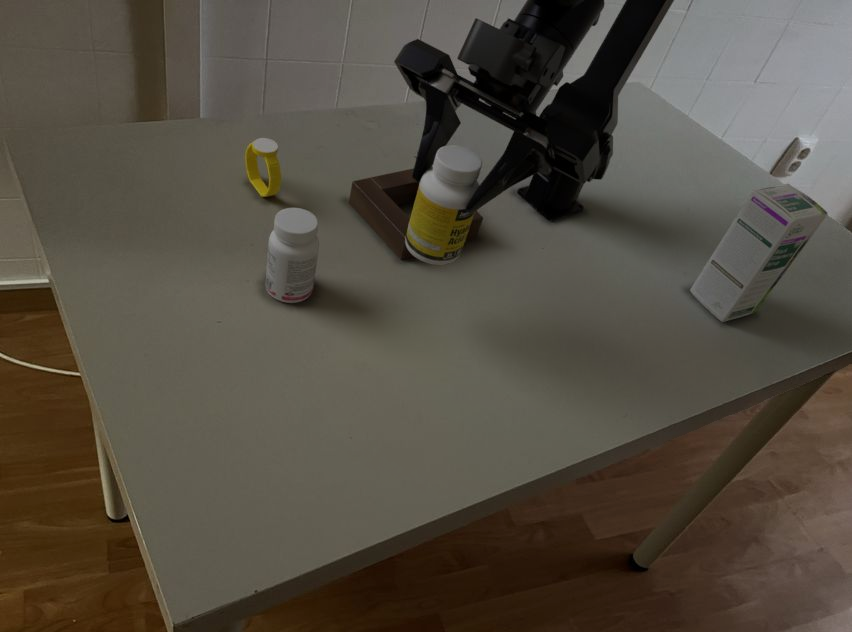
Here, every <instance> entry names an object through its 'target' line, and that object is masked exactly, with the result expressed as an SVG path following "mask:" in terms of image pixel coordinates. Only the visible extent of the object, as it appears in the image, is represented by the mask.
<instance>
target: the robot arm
mask: <svg viewBox="0 0 852 632" xmlns="http://www.w3.org/2000/svg"><path fill="white" fill-rule="evenodd" d="M674 1H675V0H625V2H624V3H623V5H622V6H621V9H620V11H619V12H618V14H617V16H616V18H615V19H614V21H613V22H612V25H611V27H610V28H609V30H608V32H607V34H606V35H605V37H604V39H603V41H602V42H601V45H600V46H599V48H598V50H597V51H596V53H595V55H594V56H593V58H592V60H591V61H590V63H589V65H588V67H587V69H586V70H585V72H584V74H583V75H581V76H580V77H578V78H576V79H575V80H574V81H571V82H568V81H567V82H566V81H565V82H564V83H563V84H562V85H561V86H559V87H558V85H559V84H560V82H561V81H562V80H563V78H564V69H565V68H566V67H567V65H568V63H569V61H570V60H571V59H572V57H573V56H574V55H575V53H576V51H577V49H578V48H579V46H580V45H581V43H582V41H583V40H584V39H585V37H586V36H587V34H588V33H589V31H590V30H591V28H592V27H596V25H597V24H598V22H599V20H600V17H601V13H602V11H603V9H604V8H605V4H606V3H605V0H526V1H525V3H524V5H522V7H521V10H520V11H519V12H518V14H517V16H516V17H515V19H514V20H513V19H512V18H507V19H506V21H504V22H503V23H502V25H501V26H500V28H498V27H495V26H494V25H491V24H490V23H488V22H486V21H483V20H481V19H479V18H477V17H476V18H474V20H473V23H472V24H471V27H470V30H469V31H468V33H467V36H466V38H465V40H464V43H463V44H462V47H461V49H460V51H459V53H458V55H457V57H456V58H457V60H458V61H461V62H462V63H464V64H466V65H468V67H467V69H468V71H469V72H468V73H469V74H470V75H471V76H473V77H474V78H475V80H474V82H473V81H471V80H469V79H467V78H466V77H463V76H461V75H460V74H458V72H457V69H456V68H455V65H454V63H453V60H452V57H451V56H450V54H448V53H446V52H445V51H443V50H440V49H438V48H437V47H435V46H432V45H431V44H428V43H427V42H425V41H423V40H421V39H420V38H416V39H414V40H412V41H409V42H407V43H406V44H404V45H403V47H402V48H401V50H400V52H399V53H398V54H397V55H396V58H395V59H394V61H393V63H394V64H395V66H396V68H397V69H398V71H399V73H400V75H401V76H402V78H403V80H404V82H405V83H406V85H407V86H408V88H409V90H410V91H412V92H413V93H414V94H416V95H417V96H418V97H421V98H423V99H424V102H425V119H424V125H423V130H422V134H421V135H422V136H421V139H420V144H419V147H418V150H417V155H416V159H415V162H414V166H413V168H414V170H413V174H412V178H413V180H414V181H416V182H419V181H420V180H421V178H422V175H423V174H424V173H425V172H426V171H427V170H428V169H430V168H432V167H433V163H434V159H435V156H436V153H437V151H438V149H440V148H441V147H443V146H448V143H449V141H450V140H451V139H452V137H453V136H454V135H455V133H456V132H457V130H458V128H459V127H460V126H461V123H462V122H461V120H460V118H459V116H458V114H457V112H456V111H457V110H458V109H459V108H460V107H461V105H464V106H466V107H467V108H470V109H472V110H473V111H475V112H477V113H479V114H481V115H483V116H485V117H486V118H488V119H490V120H492V121H494V122H496V123H497V124H499V125H501V126H504V127H505V128H507V129H508V130H511V131H512V135H511V137H510V139H509V141H508V143H507V145H506V148H505V149H504V152H503V154H502V155H500V158H499V159H498V160H497V162H495V165H494V166H493V167H492V168H491V169H490V171H489V172H488V174H487V175H486V176H485V177H484V179H483V180H482V182H481V183H479V185H480V186H479V187H478V188H477V190H476V191H475V192H474V194H473V196H472V197H471V199H470V201H469V203H468V204H467V206H466V211H467V212H468V213H470V214H472V213H473V212H475V211H478V210H479V209H480V208H482V207H483V206H485V205H486V204H488V203H490V202H491V201H492V200H494V199H496V198H497V197H498V196H500V195H501V194H502V193H504V192H505V191H506V190H508V189H510V188H511V187H513V186H515V185H517V184H519V183H520V182H522V181H525V180H526V179H528V178H530V177H531V179H530V182H529V185H525V186H522V187H519V188H518V189H517V192H516V193H517V194H518V195H519V196H520V197H521V198H522V199H524V201H525V202H527V203H528V204H529V205H530V206H531V207H532V208H534V209H535V210H536V211H537V212H538V213H539V214H540V215H541V216H543V217H544V218H545V219H546V220H548V221H554V220H557V219H560V218H563V217H568V216H571V215H574V214H577V213H581V212H583V211H584V209H585V206H584V205H583V204H582V203H581V202H579V201H578V200H577V199H578V198H579V195H580V194H581V191H582V188H583V186H584V184H586V182H588V183H590V182H591V181H593V180H600V181H601V180H602V179H603V178H604V176H605V175H606V172H607V170H608V167H609V165H610V162H611V159H612V157H613V155H614V135H613V133H614V132H615V129H616V128H617V126H618V123H619V120H618V119H619V96H620V94H621V92H622V90H623V88H624V87H625V85H626V83H627V81H628V80H629V79H630V77H631V75H632V72H633V71H634V70H635V68H636V66H637V64H638V63H639V61H640V59H641V58H642V56H643V54H644V53H645V51H646V49H647V48H648V46H649V44H650V42H651V41H652V40H653V37H654V36H655V34H656V32H657V30H658V29H659V27H660V25H661V24H662V22H663V20H664V18H665V17H666V16H667V13H668V11H669V10H670V8H671V7H672V5H673V4H674ZM553 86H555V87H558V89H557V92H556V93H555V94H554V97H553V99H552V101H551V103H549V104H547V105H546V106H545V107H544V108H543V109H542V111H541V112H540V115H537V111H538V109H539V107H540V106H541V104H542V103H543V101H544V99H545V98H546V97H547V95H548V94H549V92H550V91H551V89H552V88H553Z"/></svg>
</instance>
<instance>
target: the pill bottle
mask: <svg viewBox="0 0 852 632" xmlns="http://www.w3.org/2000/svg"><path fill="white" fill-rule="evenodd" d="M318 230H319V220H318V218H317V217H316V215H315V214H314V213H313V212H311V211H309V210H307V209H304V208H300V207H286V208H283V209H281V210H279V211H278V212H277V213H276V214H275V216H274V223H273V230H271V233H270V235H269V238H268V244H267V245H268V247H267V259H266V270H265V271H266V272H265V289H266V292H267V293H268V294H269V295H270V296H271V297H272V298H273V299H275V300H277V301H279V302H283V303H287V304H297V303H301V302H303V301H305V300H307V299H308V298H309V297H310V296H311V295H312V293H313V290H314V285H315V279H316V272H317V265H318V264H317V263H318V256H319V251H320V239H319V237H318Z"/></svg>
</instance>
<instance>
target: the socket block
mask: <svg viewBox="0 0 852 632" xmlns="http://www.w3.org/2000/svg"><path fill="white" fill-rule="evenodd" d="M413 170H414V167H413V168H409V169H404V170H399V171H394V172H389V173H386V174H380V175H375V176H371V177H365V178H361V179H357V180H352V182H351V187H350V193H349V199H348V203H349V205H350V206H351V207H352V209H354V211H356V212H357V214H358V215H359V216H360V217H361V218H362V220H364V222H365V223H366V224H367V225H368V226H369V227H370V228H371V229H372V230H373V231H374V232H375V234H376V235H377V236H378V237H379V238H380V239H381V240H382V242H384V243H385V245H386V246H387V247H388V248H389V249H390V250H391V251H392V252H393V253H394V255H395V256H397V258H398V259H399V260H401V261H402V260H404V259H408V258H412V257H414V256H413V255H412V254H411V253H410V252H409V250H408V249H407V247H406V243H405V238H406V233H407V229H408V225H409V221H410V218H411V217H409V216H408V214H406V213H405V212H404V210H402V208H401V207H399V206H403V205H408V204H411V203H414V202H415V199H416V195H417V191H418V187H419V183H420V181H419V182H416V181H414V180H413V178H412V174H413ZM483 220H484V216H483V215H481V214H480V213H479V211H478V210H476V211H475V213H474V216H473V219H472V222H471V225H470V228H469V231H468V234H467V237H466V240H465V242H468V241H471V240H475V239H477V237H478V234H479V231H480V228H481V226H482V224H483V223H482V222H483Z"/></svg>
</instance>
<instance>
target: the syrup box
mask: <svg viewBox="0 0 852 632" xmlns="http://www.w3.org/2000/svg"><path fill="white" fill-rule="evenodd" d="M827 216H828V212H827V210H825V208H823V207H822V206H821V204H818V202H816V201H815V200H814V199H813V198H811V197H810V196H808V195H807V194H806V193H804V192H802V191H801V190H799V189H798V188H796V187H795V186H792V185H791V184H790V183H785V184H783V185H779V186H770V187H764V188H760V189H754V190H752V191H751V193H750V194H749V196H748V198H747V200H746V201H745V202H744V204H743V205H742V207H741V208H740V210H739V212H738V214H737V215H736V216H735V218H734V220H733V221H732V223H731V224H730V225H729V228H728V229H727V230H726V232H725V233H724V235H723V237H722V238H721V240H720V242H719V243H718V245H717V246H716V248H715V250H714V251H713V252H712V255H711V256H710V257H709V259H708V260H707V262H706V264H705V265H704V267H703V269H702V270H701V272H700V273H699V275H698V276H697V278H696V279H695V281H694V282H693V284H692V285H691V287H690V290H689V292H690V293H691V294H692V295H693V297H694V298H695V299H697V301H698V302H699V303H700V304H701V305H703V307H705V308H706V309H707V310H708V311H709V312H710V313H711V314H712V315H713V316H714V317H715V318H717V319H718V320H719V321H720V322H721V323H727V321H731V320H736V319H739V318H743V317H745V316H746V317H747V316H749V315H752V314H756V313H757V311H758V310H759V308H760V307H761V306H762V304H763V303H764V302H765V300H766V299H767V297H769V294H770V293H771V292H772V291H773V290H774V288H775V286H776V285H777V284H778V283H779V281H780V280H781V279H782V277H783V275H785V273H786V272H787V270H788V269H789V268H790V267H791V265H792V264H793V262H794V261H795V259H796V258H797V257H798V256H799V255H800V253H801V252H802V250H803V249H804V248H805V246H806V245H807V244H808V242H809V241H810V240H811V238H812V237H813V235H814V234H815V233H816V231H817V230H818V229H819V227H820V226H821V225H822V223H823V222H824V221H825V219H826V218H827Z"/></svg>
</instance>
